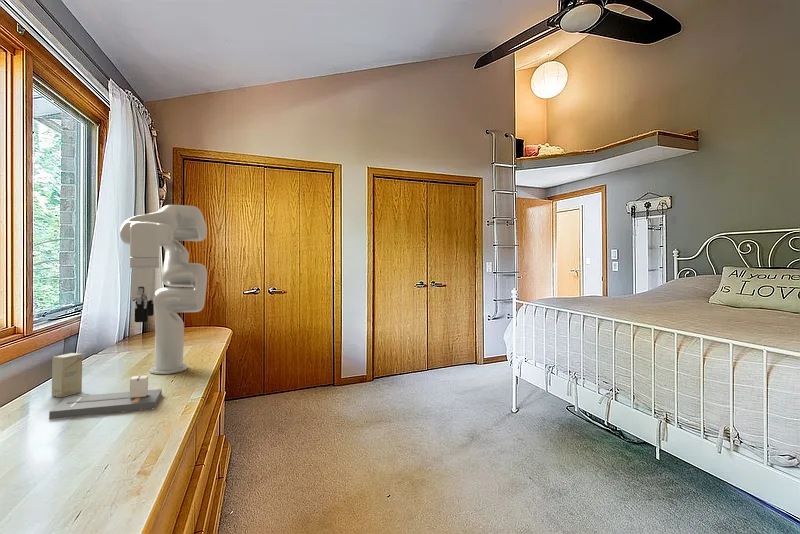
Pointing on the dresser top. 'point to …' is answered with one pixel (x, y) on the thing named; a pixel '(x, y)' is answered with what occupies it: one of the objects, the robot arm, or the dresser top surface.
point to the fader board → (104, 404)
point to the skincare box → (66, 374)
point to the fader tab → (138, 386)
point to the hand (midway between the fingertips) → (144, 318)
